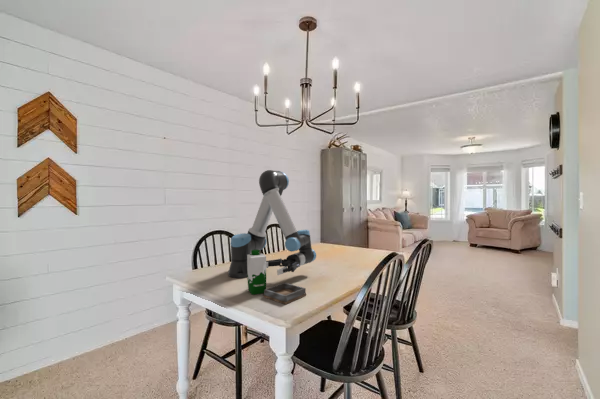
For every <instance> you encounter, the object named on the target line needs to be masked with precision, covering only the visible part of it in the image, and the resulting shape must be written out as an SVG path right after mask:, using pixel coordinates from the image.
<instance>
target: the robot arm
mask: <svg viewBox="0 0 600 399" xmlns="http://www.w3.org/2000/svg"><path fill="white" fill-rule="evenodd" d="M258 183H259V188H260V191H261V194H262V195H263V196H262V199H261V203H260V205H259V207H258V210H257V212H256V215H255V218H254V221H253V223H252V226H251V227H250V228H248V230H247V233H246V232H244V233H237V234H235V235H233V236H232V237H231V238H230V265H229V269H228V272H227V273H228V277H230V278H234V279H235V278H236V279H241V278H243V279H244V278H248V274H247V255H248V254H251V250H260V251H262V250H264V248H265V247H266V244H267V239H266V238H267V233H266V231H267V229H268V228H267V227H268V225H269V222H270V220H271V216H272V214H273V215H274V218H275V219H276V222H277V223H278V226H279V228H280V230H281V232H282V234H283V237H284V239H285V242H284V246H285V249H286V250H287V251H288V252H295V253H292V254H289V255H288V256H286V258H284V259H282V258H278V259H269V260H266V269H268V268H270V267H278V266H279V267H280V268H277V269H276V270H277V271H276V274H277V276H281V275H283V274H286V273H290V272H291V273H294V272H295V271H296V270H297V268H299V267H301V266H303V265H306V264H310V263H312V262H314V261H315V260H316V258H317V252H316V250H314V248H312V242H311V233H310V230H309V229H301V230H297V229H296V227H295V226H296V225H295V224H294V221H293V219H292V217H291V215H290V214H289V212H288V209H287V207H286V205H285V203H284V200H283V198H282V195H283V192H284V191H285V190H286V189H287V188H288V186H289V183H290V180H289V177H288V175H287V174H286V173H285V172H283V171H280V170H272V169H268V170H267V169H266V170H264V171H263V172H261V174H260V176H259V179H258ZM296 251H298V252H296Z"/></svg>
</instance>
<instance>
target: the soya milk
mask: <svg viewBox="0 0 600 399" xmlns="http://www.w3.org/2000/svg"><path fill="white" fill-rule="evenodd" d="M260 251H261V250H251V254H248V255H247V274H248V277H247V288H248V289H247V290H248V291H249V293H250V294H251V295H252V296H254V295H261V294H264V290H265V289H267V268H266V261H267V255H266V254H264V253H262V252H261V253H260Z"/></svg>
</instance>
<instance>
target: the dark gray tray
mask: <svg viewBox="0 0 600 399" xmlns="http://www.w3.org/2000/svg"><path fill="white" fill-rule="evenodd" d="M306 291H307V290H306V288H305V287H302V286H298V285H295V284H292V283H287V282H283V283H279V284H277V285H274V286H271V287H268V288H266V289H265V290H264V293H263V298H265V299H267V300H271V301H274V302H276V303H281V304H282V305H287V304H290V303H292V302H294V301H298V300H299V299H301V298H304V297H306V296H307V293H306Z"/></svg>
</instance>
